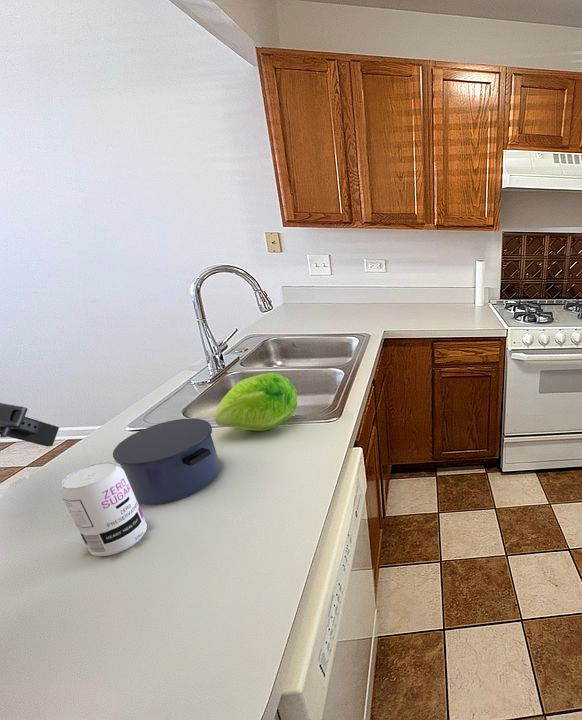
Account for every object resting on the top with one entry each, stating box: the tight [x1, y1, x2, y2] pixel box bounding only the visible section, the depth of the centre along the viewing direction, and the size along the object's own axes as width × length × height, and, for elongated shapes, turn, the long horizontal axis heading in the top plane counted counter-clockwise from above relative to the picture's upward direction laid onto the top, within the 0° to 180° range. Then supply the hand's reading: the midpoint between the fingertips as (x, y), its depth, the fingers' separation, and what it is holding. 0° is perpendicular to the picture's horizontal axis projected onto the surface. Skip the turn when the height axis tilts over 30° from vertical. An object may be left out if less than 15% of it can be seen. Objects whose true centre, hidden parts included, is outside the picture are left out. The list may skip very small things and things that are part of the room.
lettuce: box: [213, 372, 298, 432], centre depth 107 cm, size 17×20×15 cm
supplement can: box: [59, 461, 148, 557], centre depth 70 cm, size 8×8×15 cm
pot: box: [112, 417, 222, 506], centre depth 87 cm, size 20×17×11 cm
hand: (1, 441), depth 55 cm, fingers open, 13 cm apart
